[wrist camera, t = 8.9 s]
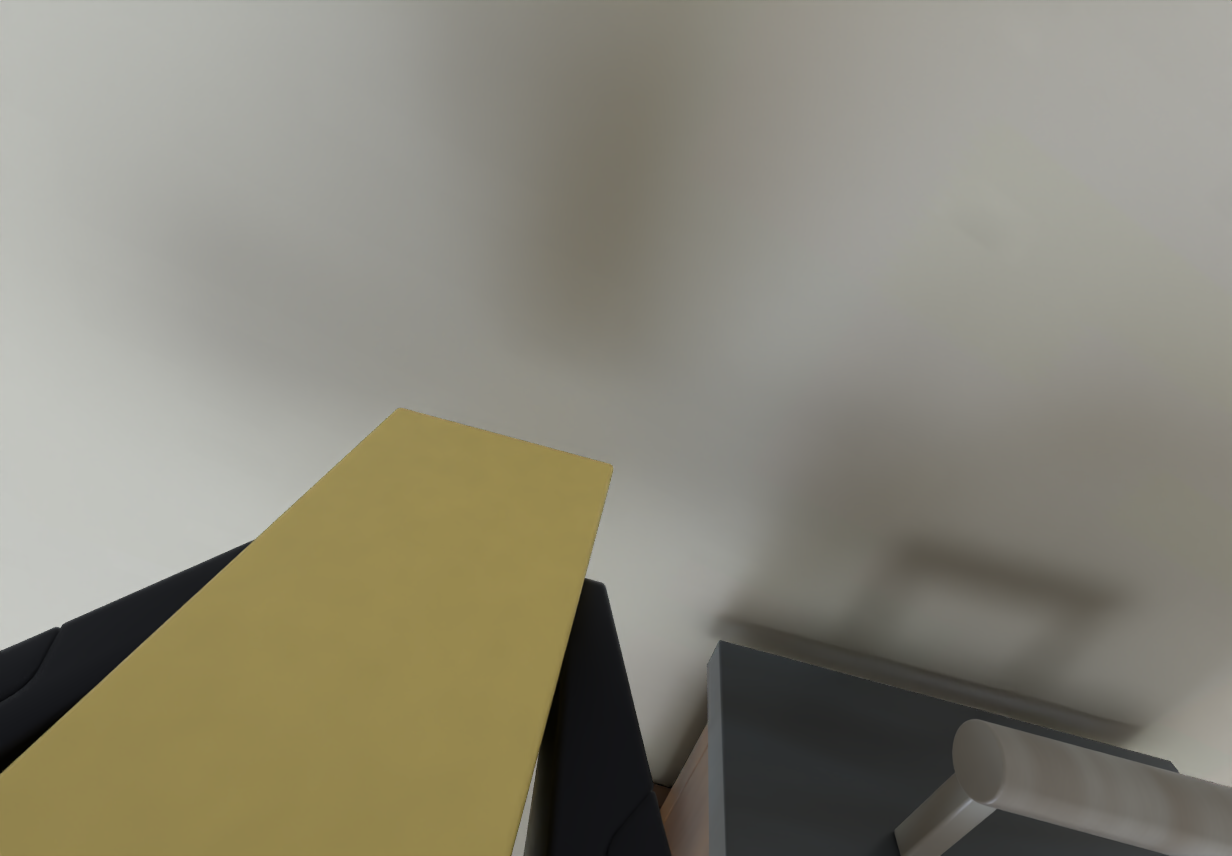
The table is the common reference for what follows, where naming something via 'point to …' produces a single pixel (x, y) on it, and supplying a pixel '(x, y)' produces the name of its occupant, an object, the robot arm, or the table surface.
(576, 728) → the robot arm
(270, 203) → the table surface
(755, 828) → the drawer
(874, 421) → the table surface
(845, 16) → the table surface
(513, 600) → the block
